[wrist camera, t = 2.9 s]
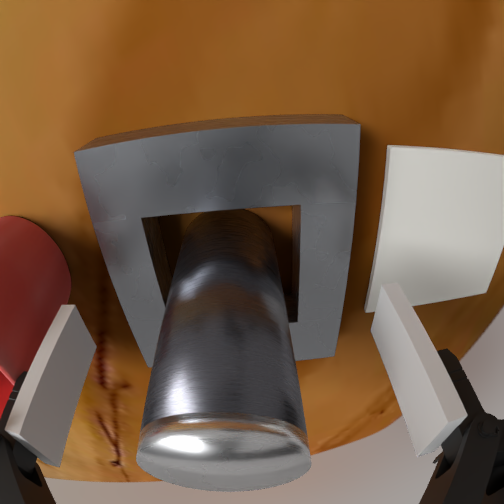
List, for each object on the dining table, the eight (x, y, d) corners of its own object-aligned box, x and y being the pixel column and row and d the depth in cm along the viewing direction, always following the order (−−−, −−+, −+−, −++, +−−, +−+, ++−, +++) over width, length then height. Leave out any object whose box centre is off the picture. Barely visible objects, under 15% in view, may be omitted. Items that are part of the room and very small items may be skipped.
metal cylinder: (175, 211, 16) (107, 434, 6) (272, 203, 16) (321, 432, 6) (190, 287, 19) (164, 488, 9) (274, 281, 19) (304, 486, 9)
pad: (387, 145, 15) (390, 147, 14) (521, 157, 15) (525, 159, 14) (363, 308, 21) (365, 312, 20) (483, 289, 21) (485, 292, 20)
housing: (95, 138, 14) (73, 152, 12) (342, 114, 14) (360, 124, 12) (154, 339, 21) (148, 367, 19) (326, 328, 21) (334, 356, 19)
